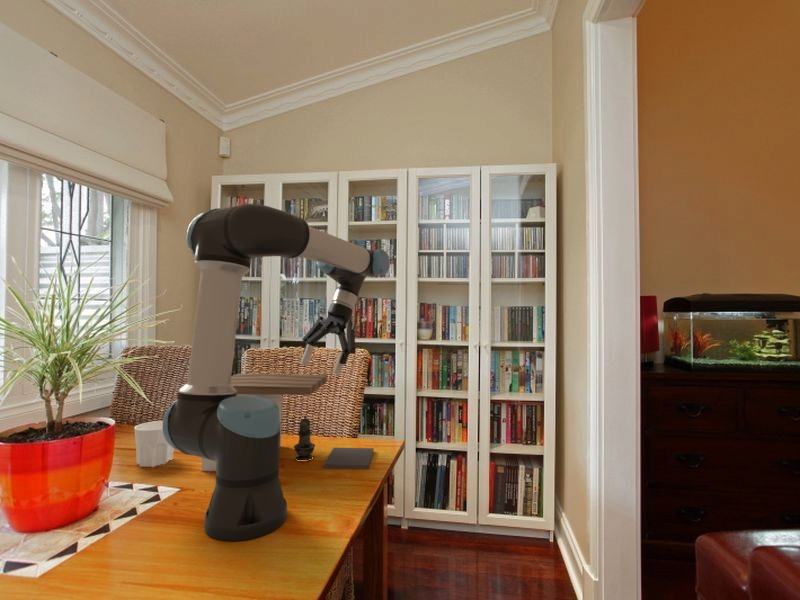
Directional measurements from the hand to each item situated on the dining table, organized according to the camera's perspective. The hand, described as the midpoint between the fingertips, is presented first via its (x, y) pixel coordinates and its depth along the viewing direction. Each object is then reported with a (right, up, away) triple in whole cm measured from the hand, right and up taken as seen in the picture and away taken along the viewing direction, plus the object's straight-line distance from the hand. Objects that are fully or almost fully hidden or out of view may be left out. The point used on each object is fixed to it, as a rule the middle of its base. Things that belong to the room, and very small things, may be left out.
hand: (319, 369), depth 127 cm
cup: (-42, -23, -14) cm, 50 cm away
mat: (+11, -23, -11) cm, 28 cm away
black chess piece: (-2, -24, -11) cm, 26 cm away
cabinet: (-12, -23, -11) cm, 28 cm away
